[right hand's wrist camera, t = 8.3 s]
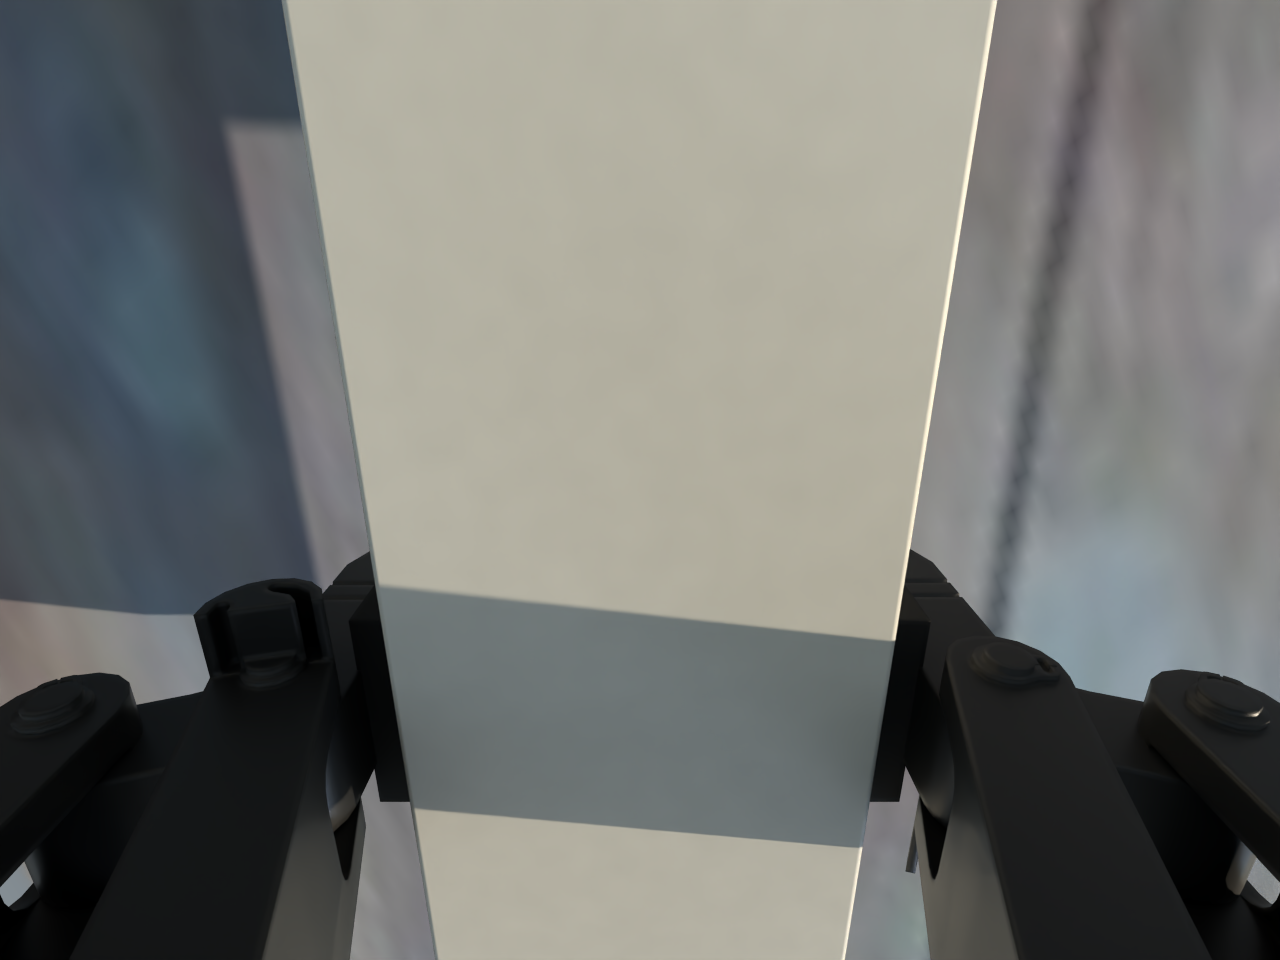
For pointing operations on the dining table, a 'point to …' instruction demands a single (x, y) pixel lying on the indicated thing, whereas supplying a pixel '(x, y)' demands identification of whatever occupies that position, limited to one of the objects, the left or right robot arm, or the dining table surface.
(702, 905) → the beam
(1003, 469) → the dining table surface
